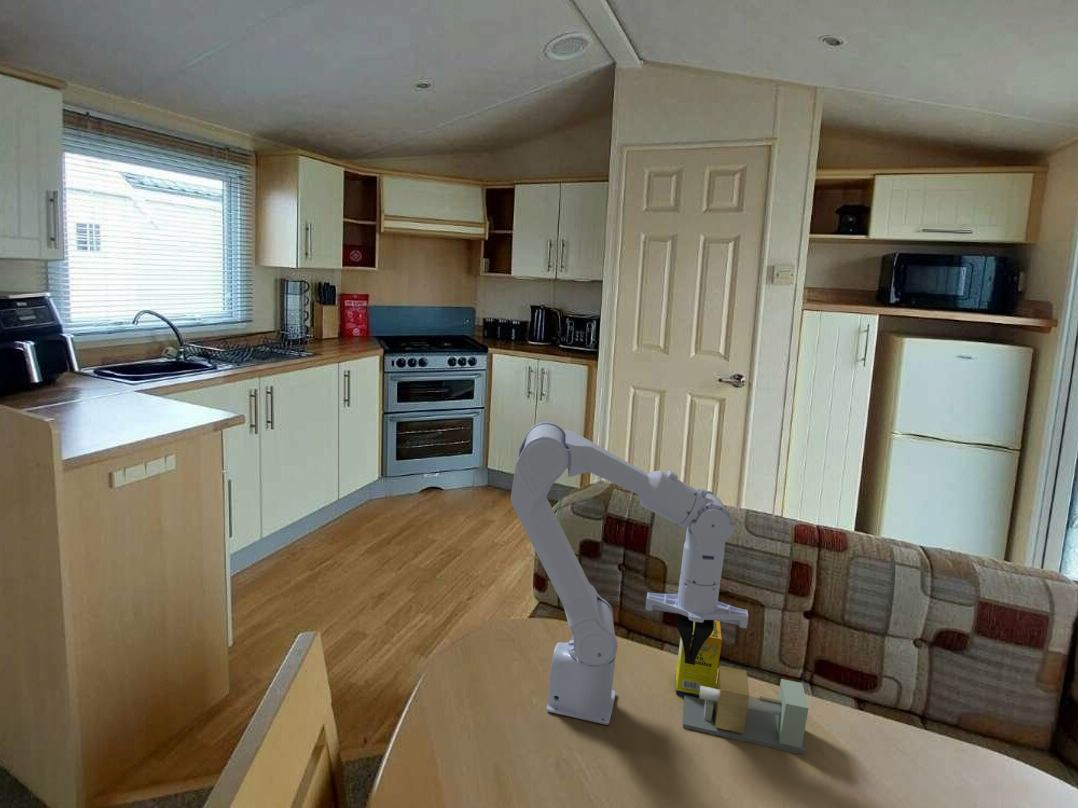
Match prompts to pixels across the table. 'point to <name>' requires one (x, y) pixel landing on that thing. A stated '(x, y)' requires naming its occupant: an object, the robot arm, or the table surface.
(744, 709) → the block
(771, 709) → the shaft rig
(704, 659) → the supplement box
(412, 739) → the table surface
